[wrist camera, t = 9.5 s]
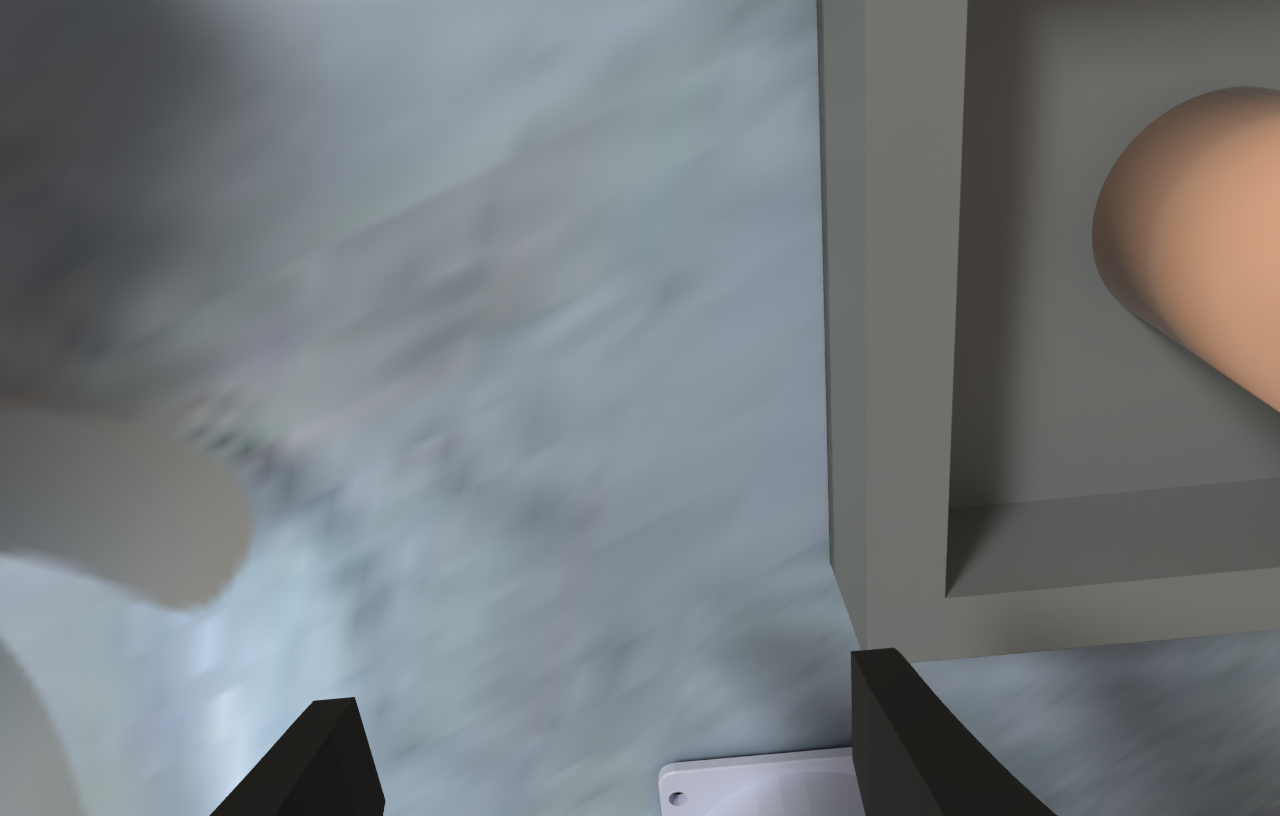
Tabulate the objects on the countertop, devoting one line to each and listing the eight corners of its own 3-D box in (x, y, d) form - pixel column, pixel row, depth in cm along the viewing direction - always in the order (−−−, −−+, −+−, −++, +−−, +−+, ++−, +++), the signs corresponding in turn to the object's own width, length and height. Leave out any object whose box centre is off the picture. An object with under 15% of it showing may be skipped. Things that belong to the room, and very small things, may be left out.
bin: (1476, 500, 23) (1636, 596, 19) (830, 562, 23) (867, 666, 20) (1715, -281, 16) (2026, -358, 13) (812, -174, 17) (864, -218, 13)
